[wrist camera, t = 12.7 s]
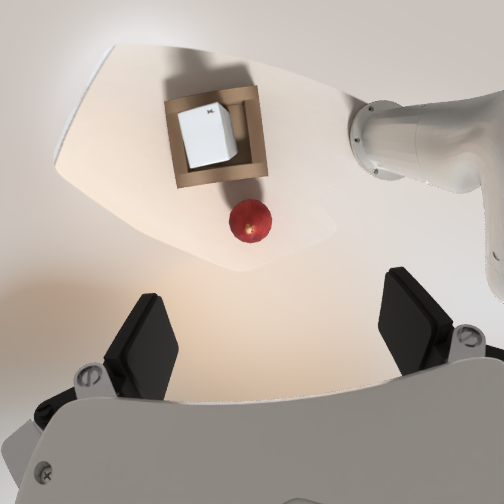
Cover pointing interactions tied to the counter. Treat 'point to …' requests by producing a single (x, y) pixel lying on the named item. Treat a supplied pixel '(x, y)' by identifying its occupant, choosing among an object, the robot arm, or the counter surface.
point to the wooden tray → (245, 130)
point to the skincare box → (207, 134)
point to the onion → (250, 221)
